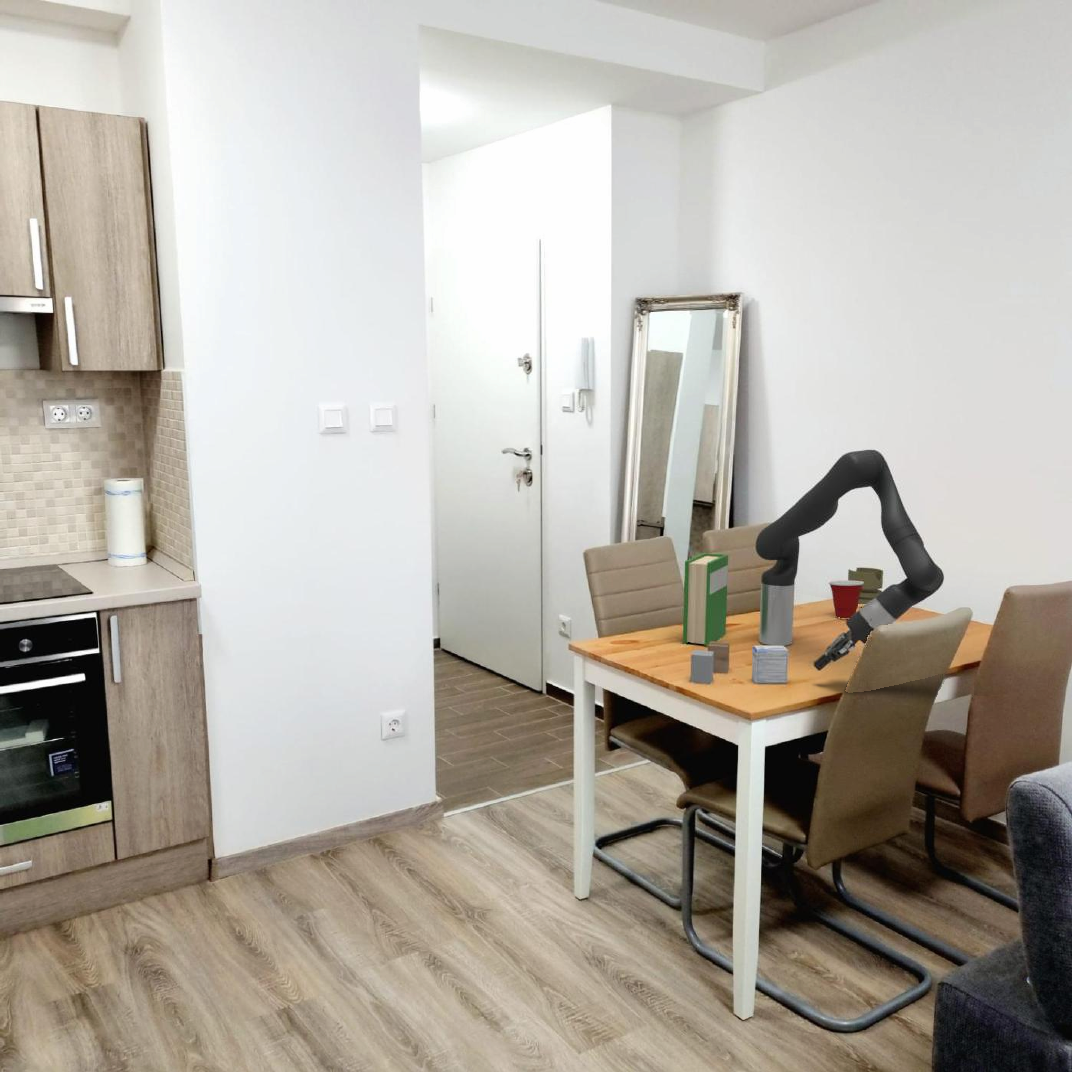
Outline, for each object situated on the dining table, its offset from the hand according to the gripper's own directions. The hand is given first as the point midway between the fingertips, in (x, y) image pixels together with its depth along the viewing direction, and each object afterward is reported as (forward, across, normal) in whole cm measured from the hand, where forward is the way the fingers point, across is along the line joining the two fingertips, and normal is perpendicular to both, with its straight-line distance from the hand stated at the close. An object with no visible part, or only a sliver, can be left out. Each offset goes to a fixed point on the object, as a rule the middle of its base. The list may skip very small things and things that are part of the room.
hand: (815, 667), depth 250 cm
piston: (-8, -110, +14) cm, 111 cm away
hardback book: (+25, -41, -19) cm, 52 cm away
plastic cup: (-3, -85, +9) cm, 86 cm away
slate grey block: (+22, +4, -16) cm, 28 cm away
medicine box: (+11, 0, -4) cm, 12 cm away
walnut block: (+20, -7, -14) cm, 26 cm away
